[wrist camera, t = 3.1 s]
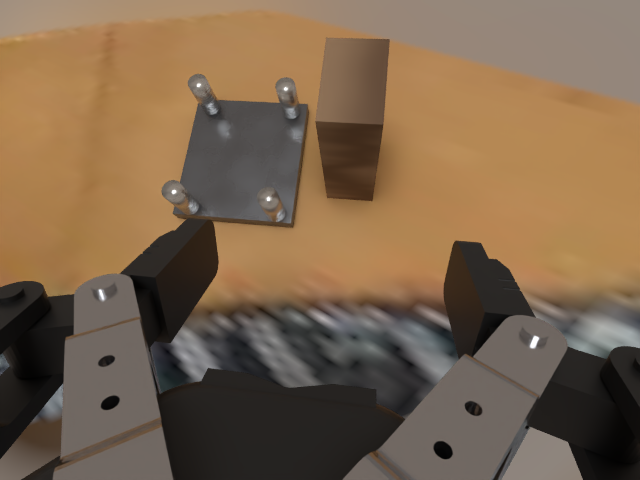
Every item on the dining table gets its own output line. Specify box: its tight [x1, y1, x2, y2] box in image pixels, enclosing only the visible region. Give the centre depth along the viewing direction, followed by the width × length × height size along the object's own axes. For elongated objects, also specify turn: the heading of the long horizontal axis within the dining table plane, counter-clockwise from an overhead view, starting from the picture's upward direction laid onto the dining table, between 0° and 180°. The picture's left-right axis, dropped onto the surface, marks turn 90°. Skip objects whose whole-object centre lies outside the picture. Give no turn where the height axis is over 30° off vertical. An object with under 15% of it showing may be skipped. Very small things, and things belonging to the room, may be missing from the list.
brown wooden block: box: [315, 38, 390, 201], centre depth 24 cm, size 3×5×10 cm, turn 174°
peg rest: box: [162, 74, 309, 227], centre depth 28 cm, size 9×10×4 cm
